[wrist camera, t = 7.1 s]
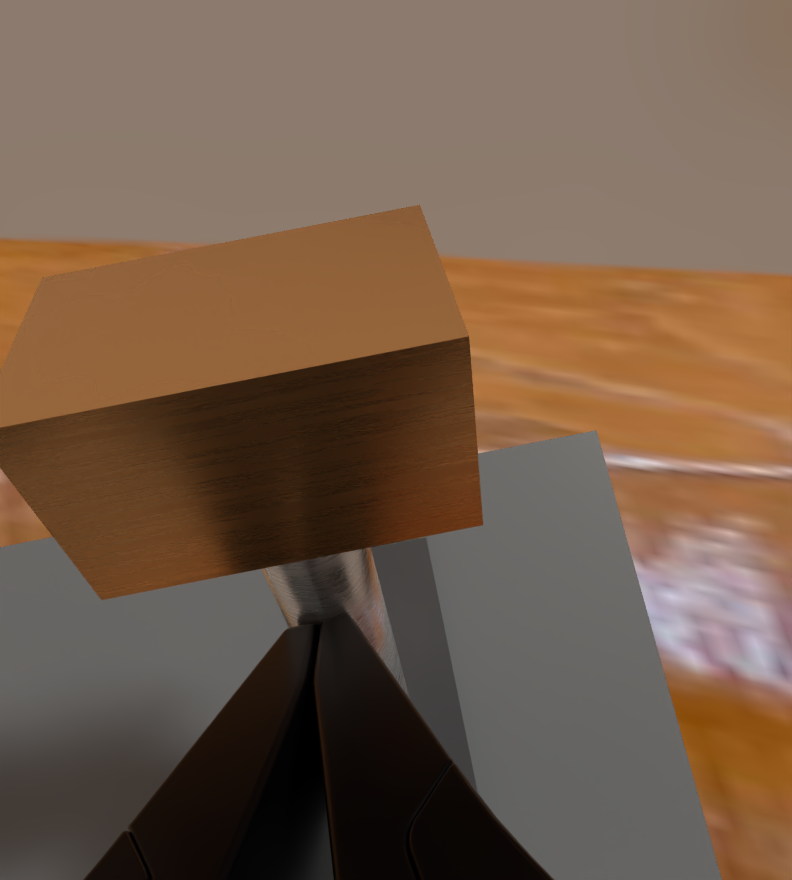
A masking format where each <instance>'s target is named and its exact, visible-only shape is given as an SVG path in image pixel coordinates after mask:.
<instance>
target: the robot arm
mask: <svg viewBox="0 0 792 880" xmlns="http://www.w3.org/2000/svg"><path fill="white" fill-rule="evenodd" d="M128 830H129V831H127V830H125V831H123V832H122V833H121V834H120V835H119V836H118V838H117V839H116V840H115V841H114V843H113V844H112V845H111V846H110V848H109V849H108V850H107V851H106V853H105V854H104V855H103V856H102V858H101V859H100V860H99V861H98V862H97V864H96V865H95V866H94V867H93V868H92V870H91V871H90V872H89V873H88V874H87V876H86V877H85V878H84V879H83V880H554V879H553V878H552V877H551V876H550V874H549V873H548V872H547V871H546V870H545V869H544V868H543V867H542V866H541V865H540V864H539V863H538V862H537V861H536V860H535V859H534V858H533V857H532V856H531V855H530V854H529V853H528V852H527V850H526V849H525V848H524V847H523V846H522V845H521V844H520V843H519V842H518V840H517V839H516V838H515V837H514V836H513V835H512V834H511V833H510V832H509V830H508V829H507V828H506V827H505V826H504V825H503V824H502V823H501V822H500V820H499V819H498V818H497V817H496V816H495V814H494V813H493V812H492V810H491V809H490V808H489V806H488V805H487V804H486V803H485V801H484V800H483V799H482V797H481V796H480V795H479V794H478V792H477V791H476V790H475V788H474V787H473V786H472V784H471V783H470V782H469V780H468V779H467V777H466V776H465V775H464V773H463V772H462V770H461V769H460V768H459V766H458V765H457V764H455V762H454V760H453V759H452V758H451V756H450V755H449V753H448V752H447V750H446V749H445V748H444V746H443V745H442V743H441V742H440V741H439V739H438V738H437V736H436V735H435V734H434V732H433V731H432V729H431V728H430V726H429V725H428V724H427V722H426V721H425V719H424V718H423V717H422V715H421V714H420V712H419V711H418V710H417V708H416V707H415V705H414V704H413V702H412V701H411V700H410V698H409V697H408V695H407V694H406V693H405V691H404V690H403V688H402V687H401V686H400V684H399V683H398V681H397V680H396V678H395V677H394V676H393V674H392V673H391V671H390V670H389V669H388V667H387V666H386V664H385V663H384V662H383V660H382V659H381V657H380V656H379V654H378V653H377V652H376V650H375V649H374V647H373V646H372V645H371V643H370V642H369V640H368V639H367V637H366V636H365V635H364V633H363V632H362V630H361V629H360V628H359V626H358V625H357V623H356V622H355V621H354V619H353V618H352V617H351V616H344V617H340V618H336V619H332V620H328V621H324V622H323V623H322V624H321V628H320V632H319V629H318V627H317V626H316V625H315V624H313V623H309V624H304V625H299V626H294V627H289V628H287V629H286V630H285V631H284V632H283V633H282V634H281V635H280V637H279V638H278V639H277V640H276V642H275V643H274V644H273V645H272V647H271V648H270V649H269V650H268V652H267V653H266V654H265V655H264V657H263V658H262V659H261V660H260V662H259V663H258V664H257V665H256V667H255V668H254V669H253V670H252V672H251V673H250V674H249V675H248V677H247V678H246V679H245V680H244V682H243V683H242V684H241V685H240V687H239V688H238V689H237V690H236V692H235V693H234V694H233V696H232V697H231V698H230V699H229V701H228V702H227V703H226V704H225V706H224V707H223V708H222V709H221V711H220V712H219V713H218V714H217V716H216V717H215V718H214V719H213V721H212V722H211V723H210V724H209V726H208V727H207V728H206V729H205V731H204V732H203V733H202V734H201V736H200V737H199V738H198V739H197V741H196V742H195V743H194V744H193V746H192V747H191V748H190V749H189V751H188V752H187V753H186V754H185V756H184V757H183V758H182V759H181V761H180V762H179V763H178V764H177V766H176V767H175V768H174V769H173V771H172V772H171V773H170V774H169V776H168V777H167V778H166V779H165V781H164V782H163V783H162V784H161V786H160V787H159V788H158V789H157V791H156V792H155V793H154V794H153V796H152V797H151V798H150V799H149V801H148V802H147V803H146V804H145V806H144V807H143V808H142V809H141V811H140V812H139V813H138V814H137V816H136V817H135V818H134V819H133V821H132V822H131V823H130V824H129V826H128Z"/></svg>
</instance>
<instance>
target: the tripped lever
mask: <svg viewBox="0 0 792 880" xmlns="http://www.w3.org/2000/svg"><path fill="white" fill-rule="evenodd" d="M0 468H1V469H2V471H3V472H4V473H5V475H6V476H7V477H8V479H9V480H10V481H11V482H12V484H13V485H14V486H15V488H16V489H17V490H18V492H19V493H20V494H21V496H22V497H23V498H24V499H25V501H26V502H27V503H28V505H29V506H30V507H31V509H32V510H33V511H34V513H35V514H36V515H37V516H38V518H39V519H40V520H41V522H42V523H43V524H44V526H45V527H46V528H47V530H48V531H49V532H50V533H51V535H52V536H53V537H54V539H55V540H56V541H57V543H58V544H59V545H60V547H61V548H62V549H63V550H64V552H65V553H66V554H67V556H68V557H69V558H70V560H71V561H72V562H73V564H74V565H75V566H76V568H77V569H78V570H79V571H80V573H81V574H82V575H83V577H84V578H85V579H86V581H87V582H88V583H89V585H90V586H91V587H92V588H93V590H94V591H95V592H96V594H97V595H98V596H99V598H100V599H101V600H106V599H111V598H116V597H121V596H126V595H131V594H136V593H141V592H146V591H151V590H157V589H162V588H167V587H172V586H177V585H182V584H187V583H192V582H197V581H202V580H207V579H212V578H217V577H223V576H228V575H233V574H238V573H243V572H248V571H253V570H258V569H262V571H263V573H264V575H265V577H266V580H267V582H268V584H269V586H270V588H271V591H272V593H273V595H274V597H275V599H276V602H277V604H278V606H279V608H280V610H281V613H282V615H283V617H284V619H285V621H286V624H287V626H288V628H289V627H294V626H299V625H304V624H309V623H313V624H315V625H316V626H317V627H318V629H319V632H320V628H321V624H322V623H323V622H324V621H328V620H332V619H336V618H340V617H344V616H351V617H352V618H353V619H354V621H355V622H356V623H357V625H358V626H359V628H360V629H361V630H362V632H363V633H364V635H365V636H366V637H367V639H368V640H369V642H370V643H371V645H372V646H373V647H374V649H375V650H376V652H377V653H378V654H379V656H380V657H381V659H382V660H383V662H384V663H385V664H386V666H387V667H388V669H389V670H390V671H391V673H392V674H393V676H394V677H395V678H396V680H397V681H398V683H399V684H400V686H401V687H402V688H403V690H404V691H405V693H406V694H407V695H408V697H409V693H408V689H407V686H406V682H405V678H404V674H403V670H402V667H401V663H400V659H399V655H398V651H397V647H396V644H395V640H394V636H393V632H392V628H391V625H390V621H389V617H388V613H387V609H386V605H385V602H384V598H383V594H382V590H381V586H380V583H379V579H378V575H377V571H376V567H375V564H374V560H373V556H372V552H371V548H370V547H375V546H380V545H385V544H390V543H395V542H400V541H405V540H410V539H415V538H421V537H426V536H431V535H436V534H441V533H446V532H451V531H456V530H461V529H466V528H471V527H476V526H481V525H483V515H482V502H481V489H480V475H479V462H478V449H477V436H476V423H475V410H474V396H473V383H472V370H471V357H470V344H469V335H468V332H467V330H466V327H465V324H464V322H463V319H462V316H461V314H460V311H459V308H458V306H457V303H456V300H455V298H454V295H453V292H452V290H451V287H450V284H449V282H448V279H447V276H446V274H445V271H444V268H443V266H442V263H441V260H440V258H439V255H438V252H437V250H436V247H435V244H434V242H433V239H432V236H431V234H430V231H429V228H428V225H427V223H426V220H425V217H424V215H423V212H422V209H421V207H420V205H417V206H412V207H406V208H401V209H396V210H391V211H386V212H381V213H375V214H370V215H365V216H360V217H354V218H349V219H344V220H339V221H334V222H329V223H324V224H318V225H313V226H308V227H303V228H298V229H292V230H287V231H282V232H277V233H272V234H266V235H261V236H256V237H251V238H246V239H241V240H235V241H230V242H225V243H220V244H215V245H209V246H204V247H199V248H194V249H189V250H184V251H178V252H173V253H168V254H163V255H158V256H152V257H147V258H142V259H137V260H132V261H127V262H121V263H116V264H111V265H106V266H101V267H95V268H90V269H85V270H80V271H75V272H70V273H64V274H59V275H54V276H49V277H44V278H41V281H40V283H39V285H38V287H37V290H36V292H35V294H34V297H33V299H32V301H31V303H30V306H29V308H28V310H27V312H26V315H25V317H24V319H23V322H22V324H21V326H20V328H19V331H18V333H17V335H16V337H15V340H14V342H13V344H12V347H11V349H10V351H9V353H8V356H7V358H6V360H5V362H4V365H3V367H2V369H1V372H0ZM409 698H410V697H409Z"/></svg>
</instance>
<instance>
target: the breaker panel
mask: <svg viewBox="0 0 792 880" xmlns="http://www.w3.org/2000/svg"><path fill="white" fill-rule="evenodd" d="M478 462H479V475H480V489H481V502H482V515H483V525H481V526H476V527H471V528H466V529H461V530H456V531H451V532H446V533H441V534H436V535H431V536H426V537H421V538H415V539H410V540H405V541H400V542H395V543H390V544H385V545H380V546H375V547H370V548H371V552H372V556H373V560H374V564H375V567H376V571H377V575H378V579H379V583H380V586H381V590H382V594H383V598H384V602H385V605H386V609H387V613H388V617H389V621H390V625H391V628H392V632H393V636H394V640H395V644H396V647H397V651H398V655H399V659H400V663H401V667H402V670H403V674H404V678H405V682H406V686H407V689H408V693H409V697H410V700H411V701H412V702H413V704H414V705H415V707H416V708H417V710H418V711H419V712H420V714H421V715H422V717H423V718H424V719H425V721H426V722H427V724H428V725H429V726H430V728H431V729H432V731H433V732H434V734H435V735H436V736H437V738H438V739H439V741H440V742H441V743H442V745H443V746H444V748H445V749H446V750H447V752H448V753H449V755H450V756H451V758H452V759H453V760H454V762H455V764H457V765H458V766H459V768H460V769H461V770H462V772H463V773H464V775H465V776H466V777H467V779H468V780H469V782H470V783H471V784H472V786H473V787H474V788H475V790H476V791H477V792H478V794H479V795H480V796H481V797H482V799H483V800H484V801H485V803H486V804H487V805H488V806H489V808H490V809H491V810H492V812H493V813H494V814H495V816H496V817H497V818H498V819H499V820H500V822H501V823H502V824H503V825H504V826H505V827H506V828H507V829H508V830H509V832H510V833H511V834H512V835H513V836H514V837H515V838H516V839H517V840H518V842H519V843H520V844H521V845H522V846H523V847H524V848H525V849H526V850H527V852H528V853H529V854H530V855H531V856H532V857H533V858H534V859H535V860H536V861H537V862H538V863H539V864H540V865H541V866H542V867H543V868H544V869H545V870H546V871H547V872H548V873H549V874H550V876H551V877H552V878H553V879H554V880H722V879H721V876H720V872H719V868H718V865H717V861H716V858H715V854H714V850H713V847H712V843H711V840H710V836H709V832H708V829H707V825H706V822H705V818H704V815H703V811H702V807H701V804H700V800H699V797H698V793H697V789H696V786H695V782H694V779H693V775H692V772H691V768H690V764H689V761H688V757H687V754H686V750H685V746H684V743H683V739H682V736H681V732H680V728H679V725H678V721H677V718H676V714H675V711H674V707H673V703H672V700H671V696H670V693H669V689H668V685H667V682H666V678H665V675H664V671H663V668H662V664H661V660H660V657H659V653H658V650H657V646H656V642H655V639H654V635H653V632H652V628H651V625H650V621H649V617H648V614H647V610H646V607H645V603H644V599H643V596H642V592H641V589H640V585H639V581H638V578H637V574H636V571H635V567H634V564H633V560H632V556H631V553H630V549H629V546H628V542H627V538H626V535H625V531H624V528H623V524H622V521H621V517H620V513H619V510H618V506H617V503H616V499H615V495H614V492H613V488H612V485H611V481H610V477H609V474H608V470H607V467H606V463H605V460H604V456H603V452H602V449H601V445H600V442H599V438H598V434H597V431H591V432H586V433H581V434H576V435H571V436H566V437H561V438H556V439H550V440H545V441H540V442H535V443H530V444H525V445H520V446H515V447H510V448H505V449H499V450H494V451H489V452H484V453H479V454H478ZM287 628H288V626H287V624H286V621H285V619H284V617H283V615H282V613H281V610H280V608H279V606H278V604H277V602H276V599H275V597H274V595H273V593H272V591H271V588H270V586H269V584H268V582H267V580H266V577H265V575H264V573H263V571H262V569H258V570H253V571H248V572H243V573H238V574H233V575H228V576H223V577H217V578H212V579H207V580H202V581H197V582H192V583H187V584H182V585H177V586H172V587H167V588H162V589H157V590H151V591H146V592H141V593H136V594H131V595H126V596H121V597H116V598H111V599H106V600H101V599H100V598H99V596H98V595H97V594H96V592H95V591H94V590H93V588H92V587H91V586H90V585H89V583H88V582H87V581H86V579H85V578H84V577H83V575H82V574H81V573H80V571H79V570H78V569H77V568H76V566H75V565H74V564H73V562H72V561H71V560H70V558H69V557H68V556H67V554H66V553H65V552H64V550H63V549H62V548H61V547H60V545H59V544H58V543H57V541H56V540H55V539H54V537H51V538H46V539H41V540H35V541H30V542H25V543H20V544H15V545H10V546H5V547H0V880H83V879H84V878H85V877H86V876H87V874H88V873H89V872H90V871H91V870H92V868H93V867H94V866H95V865H96V864H97V862H98V861H99V860H100V859H101V858H102V856H103V855H104V854H105V853H106V851H107V850H108V849H109V848H110V846H111V845H112V844H113V843H114V841H115V840H116V839H117V838H118V836H119V835H120V834H121V833H122V832H123V831H125V830H127V831H129V830H128V826H129V824H130V823H131V822H132V821H133V819H134V818H135V817H136V816H137V814H138V813H139V812H140V811H141V809H142V808H143V807H144V806H145V804H146V803H147V802H148V801H149V799H150V798H151V797H152V796H153V794H154V793H155V792H156V791H157V789H158V788H159V787H160V786H161V784H162V783H163V782H164V781H165V779H166V778H167V777H168V776H169V774H170V773H171V772H172V771H173V769H174V768H175V767H176V766H177V764H178V763H179V762H180V761H181V759H182V758H183V757H184V756H185V754H186V753H187V752H188V751H189V749H190V748H191V747H192V746H193V744H194V743H195V742H196V741H197V739H198V738H199V737H200V736H201V734H202V733H203V732H204V731H205V729H206V728H207V727H208V726H209V724H210V723H211V722H212V721H213V719H214V718H215V717H216V716H217V714H218V713H219V712H220V711H221V709H222V708H223V707H224V706H225V704H226V703H227V702H228V701H229V699H230V698H231V697H232V696H233V694H234V693H235V692H236V690H237V689H238V688H239V687H240V685H241V684H242V683H243V682H244V680H245V679H246V678H247V677H248V675H249V674H250V673H251V672H252V670H253V669H254V668H255V667H256V665H257V664H258V663H259V662H260V660H261V659H262V658H263V657H264V655H265V654H266V653H267V652H268V650H269V649H270V648H271V647H272V645H273V644H274V643H275V642H276V640H277V639H278V638H279V637H280V635H281V634H282V633H283V632H284V631H285V630H286V629H287Z"/></svg>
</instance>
